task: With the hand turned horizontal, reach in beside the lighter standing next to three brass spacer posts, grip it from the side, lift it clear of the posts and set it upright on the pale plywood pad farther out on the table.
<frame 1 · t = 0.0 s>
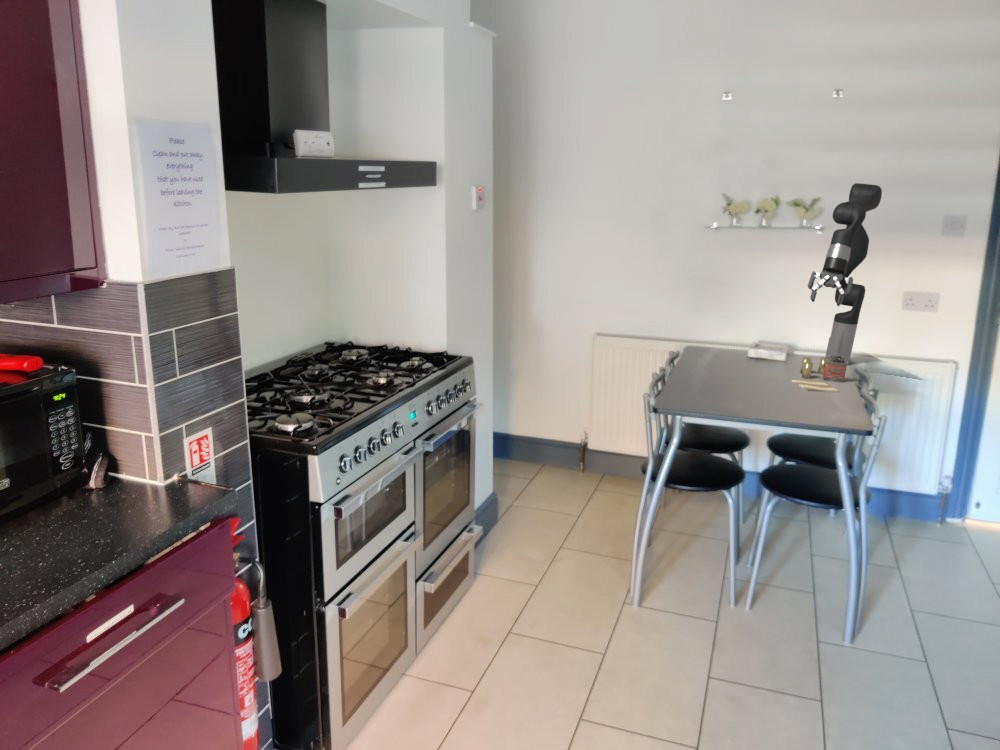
hand: (825, 303, 287), 31 cm above the table, tool tilted 20°, fingers open, 8 cm apart
lighter: (832, 381, 312), on the table
pad: (814, 386, 300), on the table
spacer posts: (812, 375, 316), on the table
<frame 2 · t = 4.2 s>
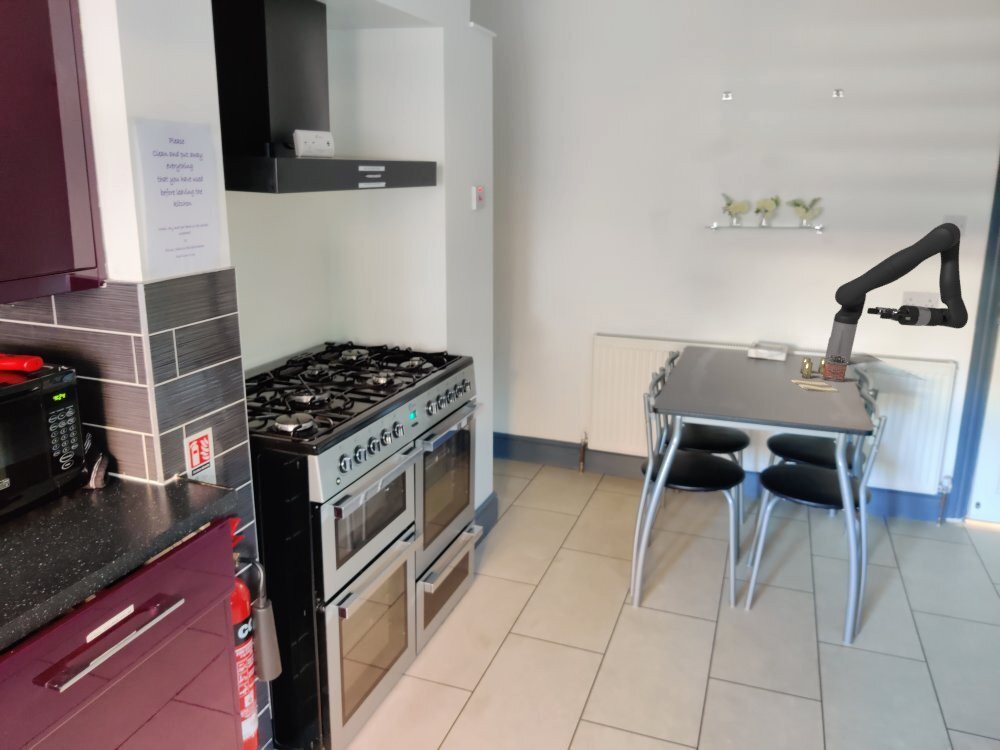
hand: (874, 313, 306), 27 cm above the table, tool horizontal, fingers open, 8 cm apart
nothing on the table moved.
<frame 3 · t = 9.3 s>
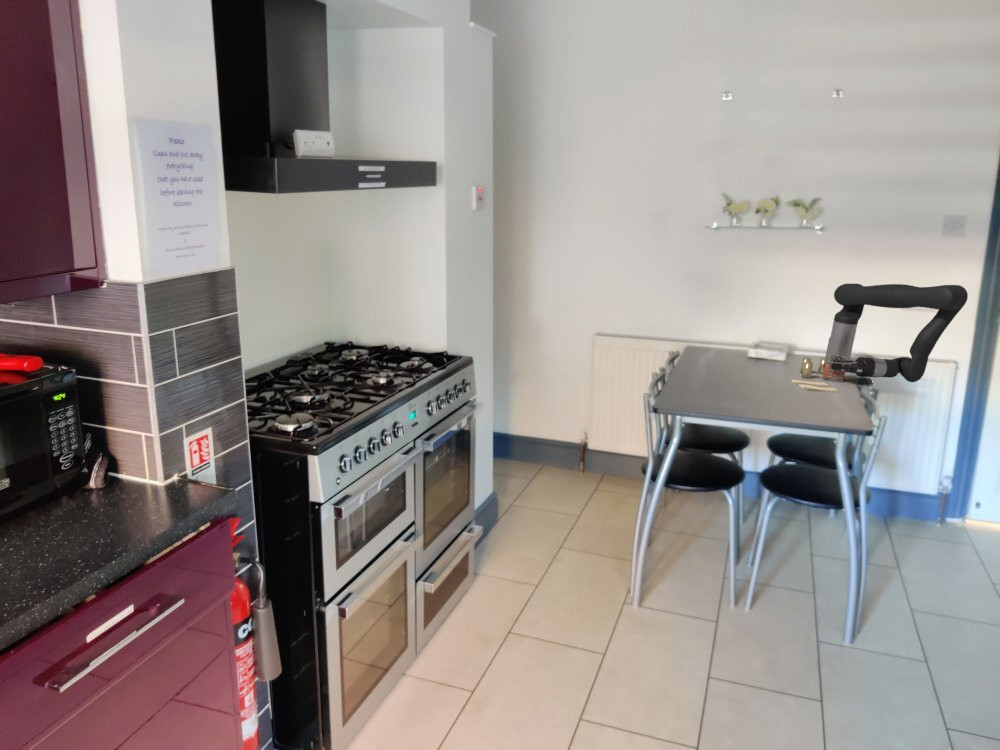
hand: (829, 364, 310), 6 cm above the table, tool horizontal, fingers closed on lighter, 3 cm apart
lighter: (832, 380, 312), on the table, touching gripper
when the fingers open (7 cm above the table, at t = 15.2 s): lighter stays where it is, resting on pad.
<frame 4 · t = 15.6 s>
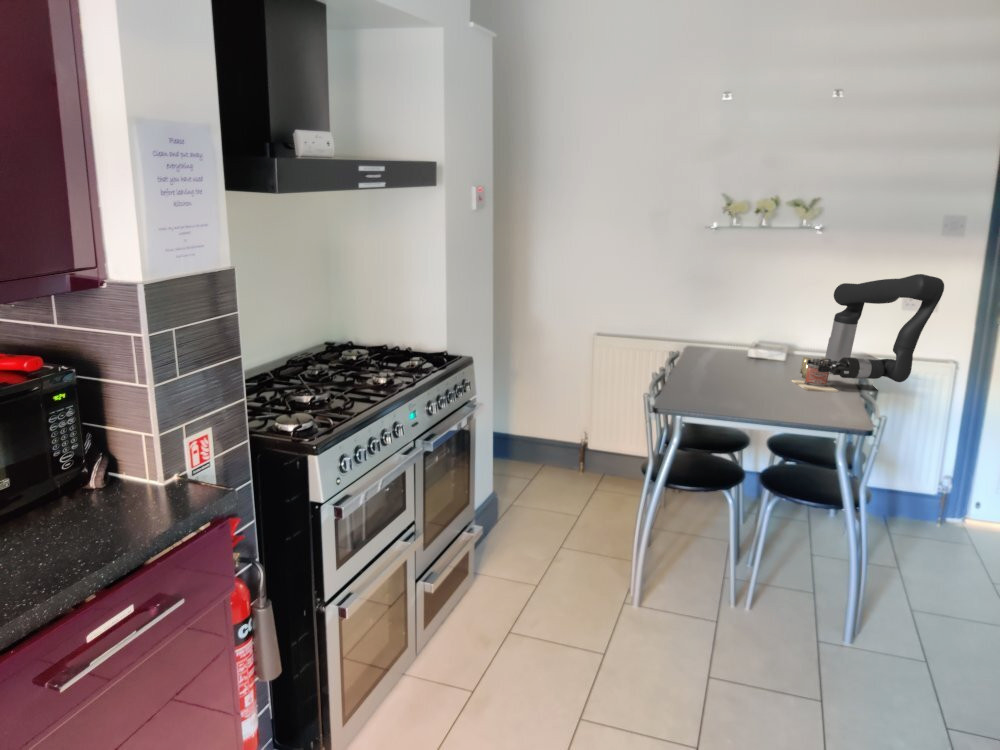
hand: (813, 365, 298), 8 cm above the table, tool horizontal, fingers open, 7 cm apart
lighter: (815, 385, 300), resting on pad
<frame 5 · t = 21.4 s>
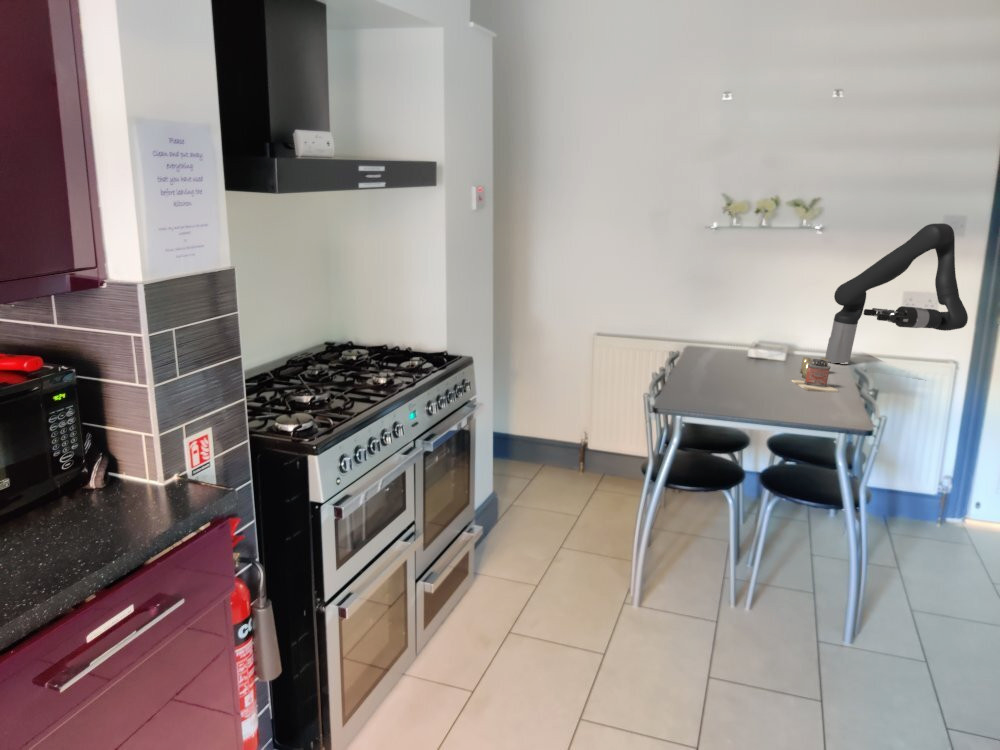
hand: (870, 314, 295), 28 cm above the table, tool horizontal, fingers open, 8 cm apart
nothing on the table moved.
at the end: lighter inside the target area on the pad (0.2 cm from its centre), point 0.4 cm above the pad's base; lighter tilted 0°; the gripper is holding nothing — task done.
